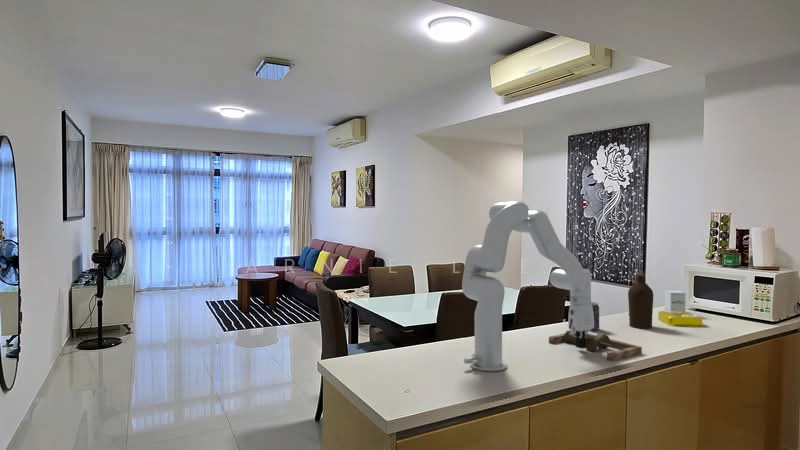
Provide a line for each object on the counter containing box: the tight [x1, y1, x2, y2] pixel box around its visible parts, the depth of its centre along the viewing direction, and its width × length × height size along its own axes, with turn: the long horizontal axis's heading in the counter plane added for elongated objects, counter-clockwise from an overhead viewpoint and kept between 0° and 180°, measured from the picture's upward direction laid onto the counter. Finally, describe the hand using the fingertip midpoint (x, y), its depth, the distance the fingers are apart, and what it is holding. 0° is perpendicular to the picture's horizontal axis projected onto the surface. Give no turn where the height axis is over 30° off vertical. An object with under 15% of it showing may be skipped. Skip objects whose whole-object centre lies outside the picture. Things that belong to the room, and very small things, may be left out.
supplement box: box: [664, 289, 687, 312], centre depth 239 cm, size 7×7×13 cm
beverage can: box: [591, 301, 600, 331], centre depth 211 cm, size 7×7×12 cm
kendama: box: [564, 330, 612, 353], centre depth 183 cm, size 6×10×20 cm
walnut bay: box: [548, 332, 643, 362], centre depth 181 cm, size 18×29×2 cm, turn 30°
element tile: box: [657, 310, 703, 328], centre depth 222 cm, size 15×15×5 cm
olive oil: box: [627, 272, 654, 330], centre depth 215 cm, size 11×11×25 cm
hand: (580, 347), depth 178 cm, fingers closed
